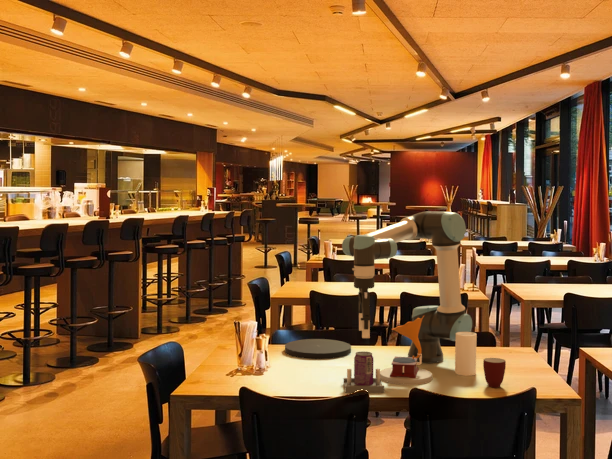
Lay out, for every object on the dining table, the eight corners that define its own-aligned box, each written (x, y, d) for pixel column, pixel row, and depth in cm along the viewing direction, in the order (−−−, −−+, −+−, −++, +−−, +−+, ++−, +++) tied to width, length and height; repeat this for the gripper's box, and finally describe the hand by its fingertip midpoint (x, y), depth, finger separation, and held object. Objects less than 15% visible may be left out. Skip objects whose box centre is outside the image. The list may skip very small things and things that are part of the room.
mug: (476, 382, 292) (476, 356, 291) (495, 381, 294) (496, 355, 293) (489, 389, 282) (489, 363, 281) (509, 388, 283) (509, 362, 283)
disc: (362, 350, 350) (363, 343, 350) (329, 363, 325) (329, 356, 325) (307, 342, 366) (307, 336, 366) (271, 354, 341) (271, 347, 341)
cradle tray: (380, 384, 289) (380, 365, 289) (384, 392, 278) (384, 373, 277) (343, 384, 289) (343, 365, 289) (345, 392, 277) (345, 373, 277)
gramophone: (433, 373, 307) (434, 311, 305) (430, 386, 287) (431, 320, 285) (383, 370, 311) (383, 309, 310) (376, 383, 292) (376, 318, 290)
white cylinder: (477, 371, 309) (477, 332, 308) (474, 376, 301) (475, 336, 300) (456, 369, 312) (457, 331, 311) (453, 374, 304) (454, 334, 303)
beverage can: (374, 383, 286) (374, 351, 285) (372, 388, 279) (372, 355, 278) (355, 382, 288) (355, 350, 287) (352, 387, 281) (353, 354, 280)
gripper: (351, 272, 293) (351, 327, 295) (356, 281, 268) (356, 341, 270) (370, 272, 293) (371, 327, 295) (377, 281, 268) (377, 341, 270)
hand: (364, 334), depth 282 cm, fingers open, 13 cm apart
